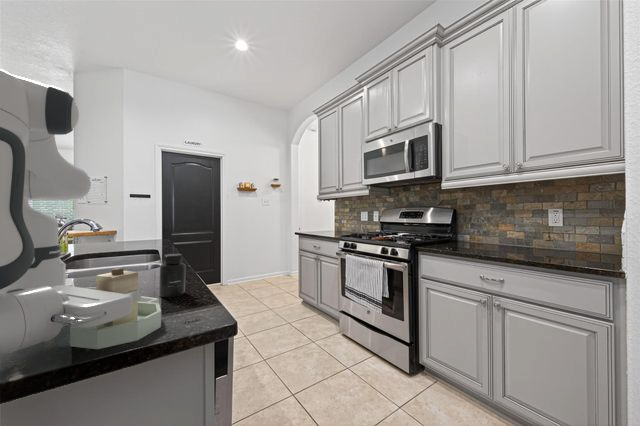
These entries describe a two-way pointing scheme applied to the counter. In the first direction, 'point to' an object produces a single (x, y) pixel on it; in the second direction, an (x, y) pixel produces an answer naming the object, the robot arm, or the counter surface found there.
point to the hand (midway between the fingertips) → (122, 291)
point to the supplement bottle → (172, 276)
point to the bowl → (119, 329)
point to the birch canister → (119, 291)
